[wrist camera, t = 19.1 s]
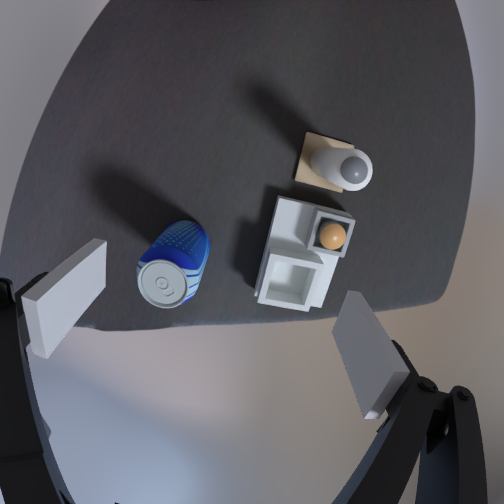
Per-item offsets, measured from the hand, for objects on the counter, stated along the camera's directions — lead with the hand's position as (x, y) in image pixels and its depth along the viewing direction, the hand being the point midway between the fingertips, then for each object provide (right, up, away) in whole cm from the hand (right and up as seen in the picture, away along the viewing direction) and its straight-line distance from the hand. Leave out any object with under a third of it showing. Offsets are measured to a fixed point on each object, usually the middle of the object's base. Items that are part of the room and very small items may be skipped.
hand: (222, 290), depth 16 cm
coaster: (+13, +16, +31) cm, 37 cm away
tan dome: (+14, +5, +32) cm, 35 cm away
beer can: (-9, +4, +36) cm, 37 cm away
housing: (+10, +2, +36) cm, 38 cm away
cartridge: (+13, +16, +31) cm, 37 cm away
